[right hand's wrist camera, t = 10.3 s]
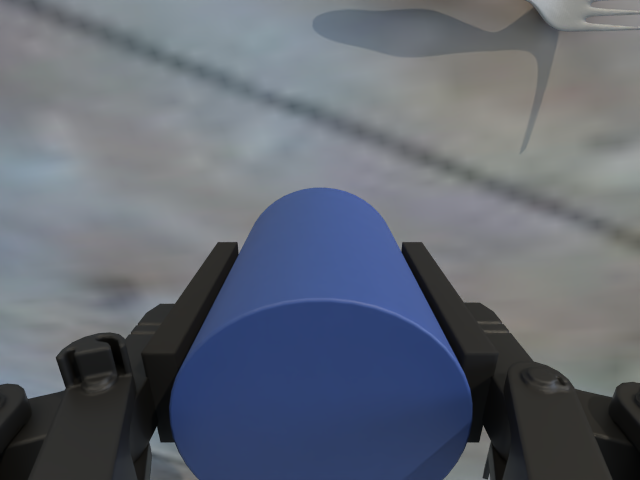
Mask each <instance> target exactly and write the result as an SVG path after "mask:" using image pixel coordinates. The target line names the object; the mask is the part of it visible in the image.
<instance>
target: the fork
mask: <svg viewBox="0 0 640 480" xmlns="http://www.w3.org/2000/svg"><path fill="white" fill-rule="evenodd" d="M526 1H528V2H529V3H531V4H532V5H533V6H534V7H535V9H536V10H537V11H538V13H539V14H540V16H541V17H542V18H543V20H544V21H545V22H546V23H547V24H548V25H550V26H551V27H552V28H554V29H557V30H560V31H619V30H640V27H630V26H617V25H604V24H592V23H588V22H586V21H585V19H586V18H588V17H593V16H614V15H635V14H640V11H633V10H616V9H600V8H593V7H591V6H590V4H591V3H592V2H595V1H606V0H526Z"/></svg>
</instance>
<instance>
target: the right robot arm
mask: <svg viewBox="0 0 640 480" xmlns="http://www.w3.org/2000/svg"><path fill="white" fill-rule="evenodd" d="M401 253H402V254H403V256H404V258H405V260H406V262H407V264H408V266H409V268H410V270H411V272H412V274H413V276H414V277H415V279H416V281H417V283H418V285H419V287H420V289H421V291H422V293H423V295H424V297H425V299H426V300H427V302H428V304H429V306H430V308H431V310H432V312H433V314H434V316H435V318H436V320H437V322H438V323H439V325H440V327H441V329H442V331H443V333H444V335H445V337H446V339H447V341H448V343H449V345H450V346H451V348H452V350H453V352H454V354H455V356H456V358H457V360H458V362H459V364H460V366H461V368H462V369H463V371H464V373H465V376H466V379H467V382H468V384H469V387H470V392H471V398H472V425H471V430H470V435H469V438H468V441H467V442H479V441H480V436H481V432H482V427H483V426H484V428H485V430H486V432H487V434H488V436H489V438H490V440H491V443H490V447H489V452H488V456H487V460H486V464H485V468H484V474H483V478H484V479H488V477H489V473H490V480H640V383H635V382H628V383H622V384H620V385H619V386H618V387H616V390H615V393H614V395H613V398H612V397H608V396H603V395H599V394H594V393H589V392H585V391H581V390H577V389H575V388H574V387H573V385H572V384H571V382H570V381H569V380H568V379H567V378H566V377H565V376H564V375H562V374H561V373H560V372H559V371H557V370H555V369H553V368H551V367H549V366H547V365H544V364H540V363H537V362H534V361H533V360H532V359H531V358H530V356H529V355H528V354H527V353H526V351H525V350H524V349H523V348H522V347H521V345H520V344H519V343H518V342H517V340H516V339H515V338H514V337H513V335H512V334H511V333H509V330H508V329H507V328H506V327H505V325H504V324H502V322H501V320H500V319H499V318H498V317H497V315H496V314H495V313H494V312H493V311H492V310H490V309H489V308H487V307H486V306H484V305H482V304H481V303H464V302H463V301H462V299H461V298H460V296H459V295H458V294H457V292H456V291H455V289H454V288H453V286H452V285H451V284H450V282H449V281H448V279H447V278H446V276H445V275H444V273H443V272H442V271H441V269H440V268H439V266H438V265H437V263H436V262H435V261H434V259H433V258H432V256H431V255H430V253H429V252H428V250H427V249H426V248H425V246H424V245H423V243H422V242H402V252H401ZM238 255H239V254H238V243H237V242H218V243H217V244H216V246H215V247H214V249H213V250H212V252H211V253H210V254H209V256H208V257H207V259H206V260H205V262H204V263H203V265H202V266H201V267H200V269H199V270H198V272H197V273H196V275H195V276H194V277H193V279H192V280H191V282H190V283H189V285H188V286H187V287H186V289H185V290H184V292H183V293H182V295H181V296H180V298H179V299H178V300H177V302H176V303H175V304H159V305H158V306H156V307H155V308H153V309H152V310H150V311H149V312H147V313H146V314H145V315H144V317H143V318H142V319H141V320H140V322H139V323H138V326H136V327H135V328H134V329H133V330H132V332H131V335H128V337H127V338H126V339H124V338H123V337H122V336H121V335H119V334H115V333H98V334H94V335H90V336H86V337H84V338H81V339H79V340H77V341H75V342H72V343H71V344H70V345H68V346H67V347H65V348H64V349H62V351H61V352H60V353H59V354H58V355H57V357H56V360H57V363H58V366H59V369H60V372H61V375H62V378H63V381H64V384H65V387H66V389H65V391H61V392H57V393H53V394H48V395H44V396H39V397H35V398H30V399H27V396H26V393H25V391H24V389H23V388H22V387H20V386H19V385H16V384H3V385H0V480H150V471H151V461H152V453H151V447H150V443H149V441H150V439H151V437H152V435H153V433H154V431H155V429H156V427H157V428H158V433H159V437H160V442H175V441H174V439H173V435H172V430H171V426H170V412H169V405H170V398H171V391H172V388H173V385H174V382H175V378H176V376H177V374H178V372H179V370H180V368H181V366H182V364H183V362H184V360H185V358H186V356H187V354H188V352H189V350H190V348H191V346H192V344H193V343H194V341H195V339H196V337H197V335H198V333H199V331H200V329H201V327H202V325H203V323H204V321H205V319H206V317H207V315H208V313H209V311H210V309H211V307H212V306H213V304H214V302H215V300H216V298H217V296H218V294H219V292H220V290H221V288H222V286H223V284H224V282H225V280H226V278H227V276H228V274H229V272H230V270H231V269H232V267H233V265H234V263H235V261H236V259H237V257H238Z"/></svg>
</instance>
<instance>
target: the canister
mask: <svg viewBox="0 0 640 480" xmlns="http://www.w3.org/2000/svg"><path fill="white" fill-rule="evenodd" d="M169 412H170V426H171V430H172V435H173V439H174V441H175V444H176V446H177V449H178V451H179V453H180V455H181V457H182V458H183V460H184V462H185V463H186V465H187V466H188V467H189V469H190V470H191V471H192V472H193V474H194V475H195V476H196V477H197V478H198V479H199V480H443V479H444V478H445V477H446V476H447V475H448V474H449V472H450V471H451V470H452V468H453V467H454V466H455V464H456V463H457V462H458V460H459V458H460V456H461V454H462V453H463V451H464V449H465V446H466V444H467V441H468V438H469V435H470V430H471V425H472V398H471V392H470V387H469V384H468V382H467V379H466V376H465V373H464V371H463V369H462V368H461V366H460V364H459V362H458V360H457V358H456V356H455V354H454V352H453V350H452V348H451V346H450V345H449V343H448V341H447V339H446V337H445V335H444V333H443V331H442V329H441V327H440V325H439V323H438V322H437V320H436V318H435V316H434V314H433V312H432V310H431V308H430V306H429V304H428V302H427V300H426V299H425V297H424V295H423V293H422V291H421V289H420V287H419V285H418V283H417V281H416V279H415V277H414V276H413V274H412V272H411V270H410V268H409V266H408V264H407V262H406V260H405V258H404V256H403V254H402V253H401V251H400V249H399V247H398V245H397V243H396V241H395V239H394V237H393V235H392V233H391V231H390V229H389V228H388V226H387V224H386V222H385V221H384V219H383V218H382V217H381V215H380V214H379V213H378V212H377V211H376V210H375V209H374V208H373V207H372V206H371V205H370V204H368V203H367V202H366V201H364V200H362V199H361V198H359V197H357V196H355V195H353V194H350V193H348V192H345V191H341V190H337V189H331V188H310V189H303V190H300V191H296V192H293V193H291V194H288V195H286V196H284V197H282V198H280V199H279V200H277V201H275V202H274V203H273V204H272V205H270V206H269V207H268V208H267V209H266V210H265V211H264V212H263V213H262V214H261V215H260V217H259V218H258V219H257V221H256V222H255V224H254V226H253V228H252V230H251V232H250V233H249V235H248V237H247V239H246V241H245V243H244V245H243V247H242V249H241V251H240V253H239V255H238V257H237V259H236V261H235V263H234V265H233V267H232V269H231V270H230V272H229V274H228V276H227V278H226V280H225V282H224V284H223V286H222V288H221V290H220V292H219V294H218V296H217V298H216V300H215V302H214V304H213V306H212V307H211V309H210V311H209V313H208V315H207V317H206V319H205V321H204V323H203V325H202V327H201V329H200V331H199V333H198V335H197V337H196V339H195V341H194V343H193V344H192V346H191V348H190V350H189V352H188V354H187V356H186V358H185V360H184V362H183V364H182V366H181V368H180V370H179V372H178V374H177V376H176V378H175V382H174V385H173V388H172V391H171V398H170V405H169Z"/></svg>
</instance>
